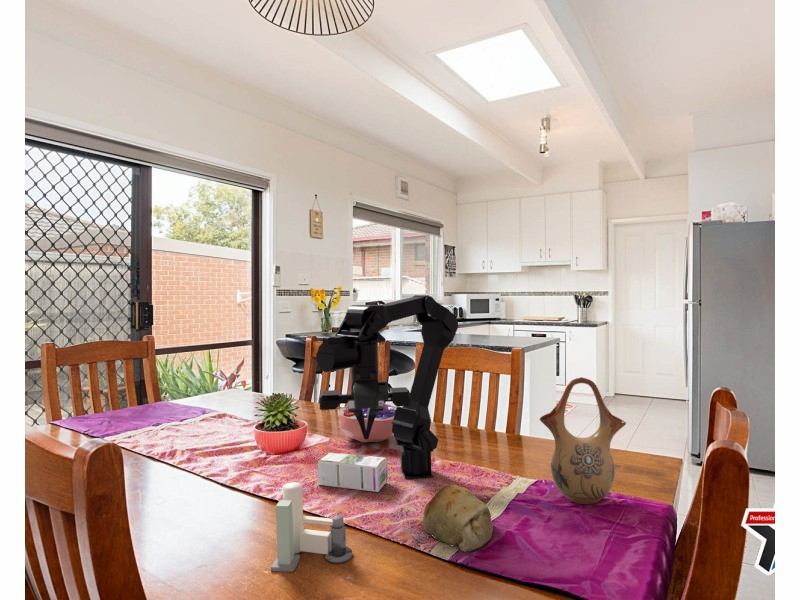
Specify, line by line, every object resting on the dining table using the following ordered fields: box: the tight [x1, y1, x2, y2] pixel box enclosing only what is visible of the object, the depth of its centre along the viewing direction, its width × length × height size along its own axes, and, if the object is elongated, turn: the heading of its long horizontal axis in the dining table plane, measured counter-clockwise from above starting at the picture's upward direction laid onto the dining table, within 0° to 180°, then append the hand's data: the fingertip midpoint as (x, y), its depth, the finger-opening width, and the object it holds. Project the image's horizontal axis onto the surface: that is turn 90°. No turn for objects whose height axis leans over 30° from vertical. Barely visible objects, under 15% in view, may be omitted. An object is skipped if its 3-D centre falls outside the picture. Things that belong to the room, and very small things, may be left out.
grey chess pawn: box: [324, 523, 353, 565], centre depth 80 cm, size 4×4×5 cm
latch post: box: [270, 499, 301, 573], centre depth 77 cm, size 4×4×10 cm
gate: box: [282, 481, 345, 555], centre depth 81 cm, size 10×3×11 cm, turn 76°
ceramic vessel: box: [539, 377, 627, 505], centre depth 97 cm, size 16×9×25 cm, turn 77°
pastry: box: [422, 482, 494, 553], centre depth 87 cm, size 14×12×8 cm
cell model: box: [336, 402, 397, 444], centre depth 138 cm, size 17×20×11 cm
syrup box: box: [317, 451, 388, 493], centre depth 108 cm, size 6×6×14 cm
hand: (366, 438), depth 102 cm, fingers closed
